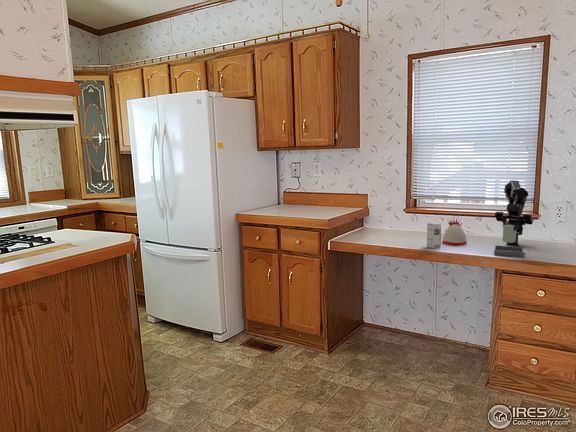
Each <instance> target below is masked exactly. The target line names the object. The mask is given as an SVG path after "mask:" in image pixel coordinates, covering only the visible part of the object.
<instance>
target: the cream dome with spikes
mask: <svg viewBox="0 0 576 432" xmlns="http://www.w3.org/2000/svg"><path fill="white" fill-rule="evenodd" d="M455 219H456V220H455ZM455 219H453V220H452V219H450V220H447V223H448V225H449V226H448V227H447V228H446V229H445V230H444V232H443V233H444V234H443V236H442V244H444V245H448V246H465V245H467V242H468V241H467V237H466V232H465V230H464V229H463V226H462V224H463V223H462V222H461V221H460V220H458V219H457V218H455ZM449 221H450V222H449ZM460 222H461V223H460Z"/></svg>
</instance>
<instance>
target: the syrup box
mask: <svg viewBox="0 0 576 432" xmlns="http://www.w3.org/2000/svg"><path fill="white" fill-rule="evenodd" d="M441 240H442V223H440V222H437V221H433V222H426V247H427V248H430V249H436V248H441V244H442V243H441Z"/></svg>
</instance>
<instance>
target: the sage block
mask: <svg viewBox="0 0 576 432" xmlns="http://www.w3.org/2000/svg"><path fill="white" fill-rule="evenodd" d="M514 227H515V225H510V224H506V225H503V224H502V229H503V230H502V242H503V243H507V242H509V243H513V242H515V241H516V230H515V231H514Z"/></svg>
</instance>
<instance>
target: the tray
mask: <svg viewBox="0 0 576 432" xmlns="http://www.w3.org/2000/svg"><path fill="white" fill-rule="evenodd" d="M493 251H494V253H493V256H499V257H500V256H502V257H514V258H515V257H516V258H524V247H521V246H511V245H497V244H496V245H494V248H493Z"/></svg>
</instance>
